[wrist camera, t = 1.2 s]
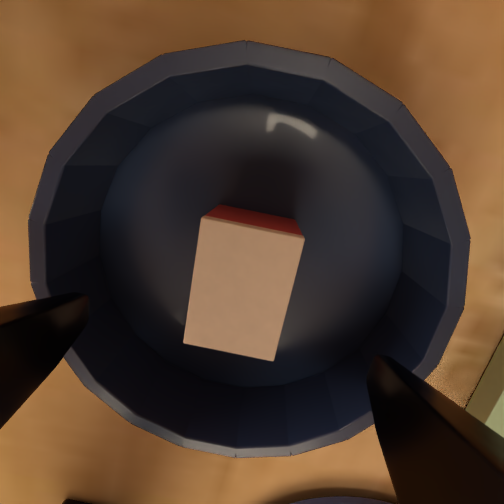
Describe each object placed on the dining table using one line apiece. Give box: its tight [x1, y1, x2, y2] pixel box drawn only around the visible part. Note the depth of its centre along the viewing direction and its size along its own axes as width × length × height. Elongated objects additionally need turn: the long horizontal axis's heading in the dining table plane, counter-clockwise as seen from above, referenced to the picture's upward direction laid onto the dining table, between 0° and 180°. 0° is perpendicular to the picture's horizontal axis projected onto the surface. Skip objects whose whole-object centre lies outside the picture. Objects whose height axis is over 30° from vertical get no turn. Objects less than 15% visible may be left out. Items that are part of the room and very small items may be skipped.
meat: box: [183, 204, 305, 361], centre depth 14 cm, size 6×4×4 cm
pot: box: [28, 40, 471, 458], centre depth 14 cm, size 17×17×4 cm
